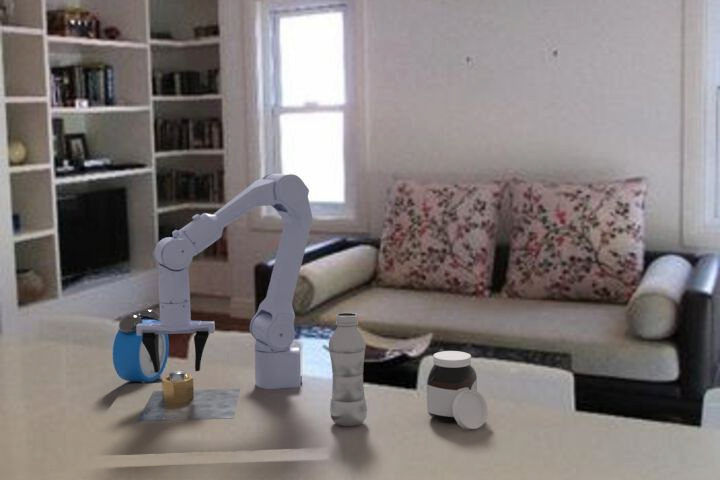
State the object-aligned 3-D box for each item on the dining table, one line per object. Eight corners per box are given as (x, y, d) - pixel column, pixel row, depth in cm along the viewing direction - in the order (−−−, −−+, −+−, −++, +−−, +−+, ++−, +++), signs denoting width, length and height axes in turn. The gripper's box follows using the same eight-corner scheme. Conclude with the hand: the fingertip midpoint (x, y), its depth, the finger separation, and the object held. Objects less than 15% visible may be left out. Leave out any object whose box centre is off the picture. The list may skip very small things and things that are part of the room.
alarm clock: (138, 391, 177) (135, 318, 175) (112, 388, 179) (108, 317, 177) (171, 374, 189) (168, 306, 187) (146, 371, 191) (143, 305, 189)
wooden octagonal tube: (198, 395, 168) (198, 375, 167) (181, 404, 163) (180, 383, 162) (175, 392, 170) (174, 372, 170) (157, 400, 165) (156, 380, 165)
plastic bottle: (363, 431, 151) (362, 319, 149) (325, 429, 153) (324, 317, 150) (370, 419, 158) (369, 311, 155) (334, 417, 159) (332, 310, 157)
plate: (240, 396, 173) (239, 364, 172) (233, 426, 155) (232, 390, 154) (153, 398, 171) (152, 366, 171) (137, 429, 154) (135, 393, 153)
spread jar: (444, 406, 165) (444, 347, 163) (500, 416, 159) (501, 354, 157) (415, 425, 154) (415, 361, 153) (474, 436, 149) (474, 369, 147)
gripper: (215, 295, 169) (217, 363, 171) (139, 297, 168) (142, 366, 170) (211, 302, 162) (214, 373, 164) (132, 305, 161) (136, 376, 163)
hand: (177, 370), depth 166 cm, fingers open, 7 cm apart
